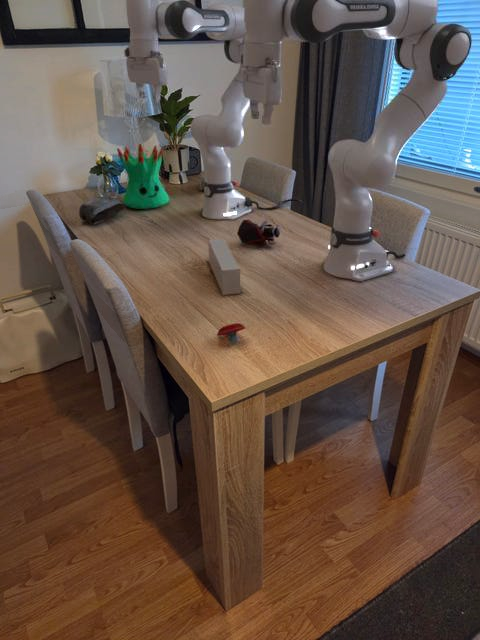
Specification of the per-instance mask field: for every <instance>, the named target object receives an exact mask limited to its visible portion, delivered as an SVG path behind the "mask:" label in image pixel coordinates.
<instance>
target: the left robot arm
mask: <svg viewBox="0 0 480 640" xmlns="http://www.w3.org/2000/svg"><path fill="white" fill-rule="evenodd" d="M126 18H127V25H128V27H129V31H130V32H129V44H128V46H127V47H125V49H123V50H124V51H123V53H124V57H125V58H126V59H125V60H126V71H127V76H128V80H129V81H130V83H135V87H136V89H137V91H138V97H139V99H146V98H147V96H146V95H147V92H146V91H145V89H144V86H145V85H150V86H151V85H153V89H154V93H153V94H152V97H153V99H152V100H154V101H156V102H157V101H161V93H162V89H163V87H162V86H167V85H168V83H169V76H168V75H169V74H168V67H167V63H166V60H165V57H164V56H163V54H162V52H161V51H160V47H159V39H162V40H185V41H187V40H190V39H192V38H194V37H195V36H197V35H198V34H200V33H205V34H206V36H207V37H208V38H210V39H212V40H215V41H223V52H224V55H225V57H226V59H227V60H228V61H229V62H231V63H233V64H236V65H237V64H239V69H238V71H237V73H236V74H235V76H234V77H233V78H232V80H231V82H230V83H229V85H228V86H227V87H226V89H225V91H224V93H223V94H222V96H221V97H220V104H221V107H222V108H221V111H220V113H219V114H218V115H212V114H200V115H197V116H195V117H194V118H193V119H192V121H191V123H190V134H191V136H192V138H193V139H194V140H195V142H196V145H197V146H198V149H199V151H200V154H201V158H202V164H203V178H204V180H205V181H204V189H203V193H204V194H203V195H204V199H203V206H202V207H203V208H202V211H201V216H202V217H204V218H205V219H210V220H229V221H230V220H235V219H237V218H240V217H242V216H244V215H246V214H249V213H250V212H252V208H251V207H253V204H255V205H256V208H257V209H259V210H266V211H267V210H271V211H272V210H276V209H279V208H281V206H282V204H284V203H289V202H298V203H299V204H303V201H302V200H300V199H299V198H289V199H285V200H281V201H280V202H279V203H278V205H276V206H272V207H262V206H259V203H258V202H257V201H255V200H252V199H251V198H250V197H245V196H244V195H243V194H242V193H240V191H238V190H236V189H235V187H238V186H239V183H240V182H239V181H237V180H232V166H231V165H232V163H231V160H230V158H229V157H228V155H227V154H226V152H225V149H235V148H238V147H240V145H241V144H242V143H243V140H244V137H245V129H244V126H243V121H244V118H245V115H246V114H247V112H248V110H249V109H250V99H248V98H245V97H244V93H243V81H242V68H243V66H242V65H241V64H240V57H241V55H242V53H243V50H244V38H245V33H246V29H245V23H244V7H243V6H241V5H238V4H233V3H228V2H227V3H226V2H219V3H213V4H209V5H207V6H206V8H200V7H197V6H195V5H194V4H192V2H190V1H188V0H176V1H170V2H165V1H163V0H126ZM261 44H276V43H261Z"/></svg>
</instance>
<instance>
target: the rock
mask: <svg viewBox="0 0 480 640" xmlns="http://www.w3.org/2000/svg"><path fill="white" fill-rule="evenodd" d="M125 209H126V205H125V204H124V203H121V201H120V198H113V199H112V197H111V196H108V197H107V196H101V197H98V198H94V199H91V200H87V201H85V202H83V203H82V204H81V205H80V206H79V210H78V216H79V219H80V220H81V221H82V222H86V221H87V222H88V223H89V224H91V225H96V224H98V223H101V222H102V221H105V220H108V219H109V218H111V217H113V216H115V215H117V214H119V213H121V212H123V211H125Z"/></svg>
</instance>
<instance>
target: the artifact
mask: <svg viewBox="0 0 480 640" xmlns="http://www.w3.org/2000/svg"><path fill="white" fill-rule="evenodd" d="M204 181H205V180H204V177H203V178H201V179H200V184H199V187H198V190H199V191H201V192H202V191H204Z"/></svg>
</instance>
